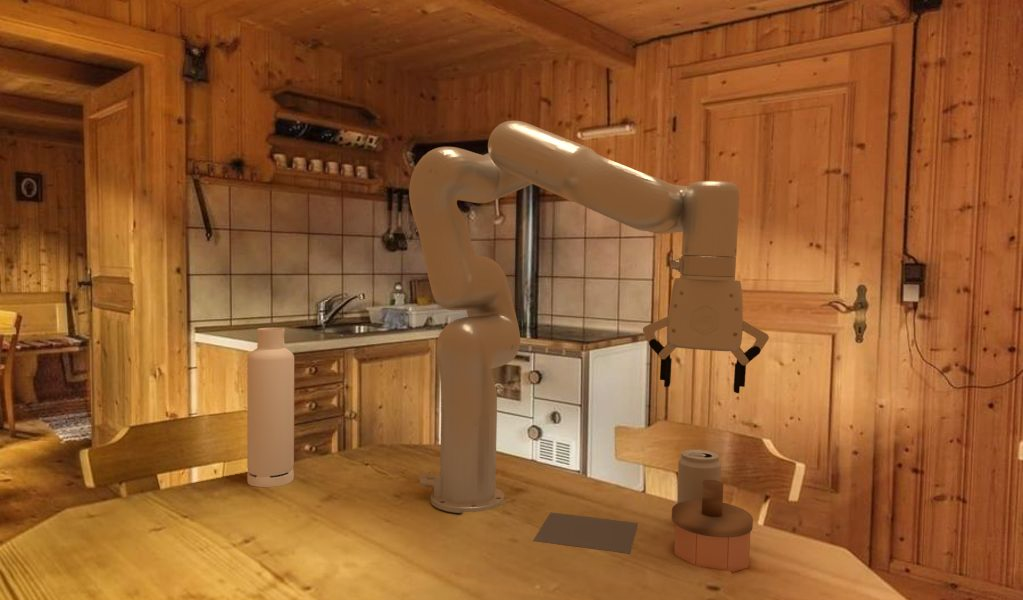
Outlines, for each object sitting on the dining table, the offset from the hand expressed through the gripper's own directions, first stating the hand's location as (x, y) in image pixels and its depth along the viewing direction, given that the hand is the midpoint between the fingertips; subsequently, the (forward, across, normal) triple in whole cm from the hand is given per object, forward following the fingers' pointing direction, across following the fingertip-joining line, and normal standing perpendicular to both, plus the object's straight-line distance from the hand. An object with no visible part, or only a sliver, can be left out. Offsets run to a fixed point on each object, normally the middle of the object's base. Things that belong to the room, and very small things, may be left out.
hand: (701, 388), depth 100 cm
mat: (+24, -16, 0) cm, 28 cm away
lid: (+18, +2, -2) cm, 19 cm away
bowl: (+24, +3, -2) cm, 24 cm away
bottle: (+25, -76, +6) cm, 80 cm away
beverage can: (+24, 0, +8) cm, 25 cm away
